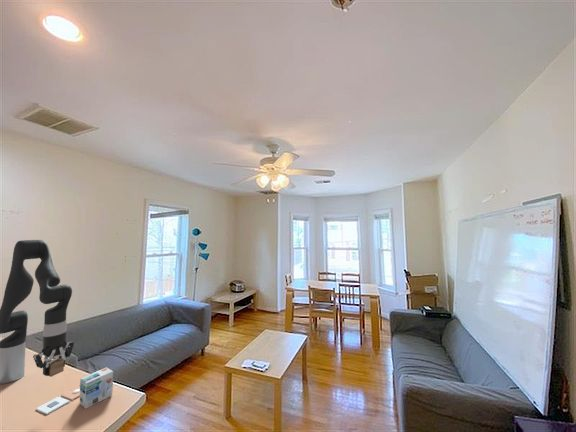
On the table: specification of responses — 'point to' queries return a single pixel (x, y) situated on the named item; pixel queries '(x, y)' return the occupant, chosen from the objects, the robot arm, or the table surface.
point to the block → (56, 366)
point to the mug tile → (72, 393)
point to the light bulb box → (96, 387)
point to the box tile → (52, 405)
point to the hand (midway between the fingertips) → (54, 371)
